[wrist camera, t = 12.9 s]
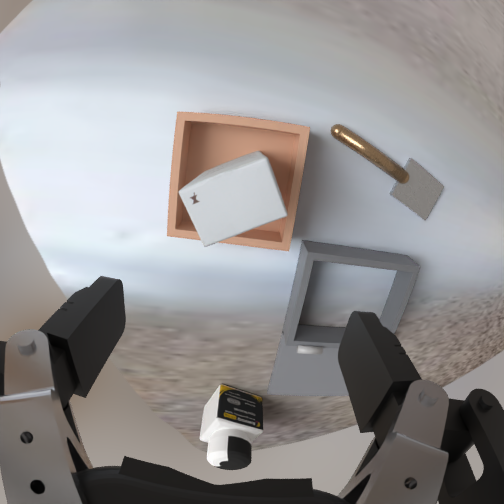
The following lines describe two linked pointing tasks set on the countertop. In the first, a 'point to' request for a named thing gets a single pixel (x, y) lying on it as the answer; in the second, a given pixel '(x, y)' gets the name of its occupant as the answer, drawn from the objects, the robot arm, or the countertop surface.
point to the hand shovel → (397, 174)
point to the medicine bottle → (231, 427)
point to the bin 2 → (329, 338)
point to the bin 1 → (231, 147)
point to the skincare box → (233, 198)
